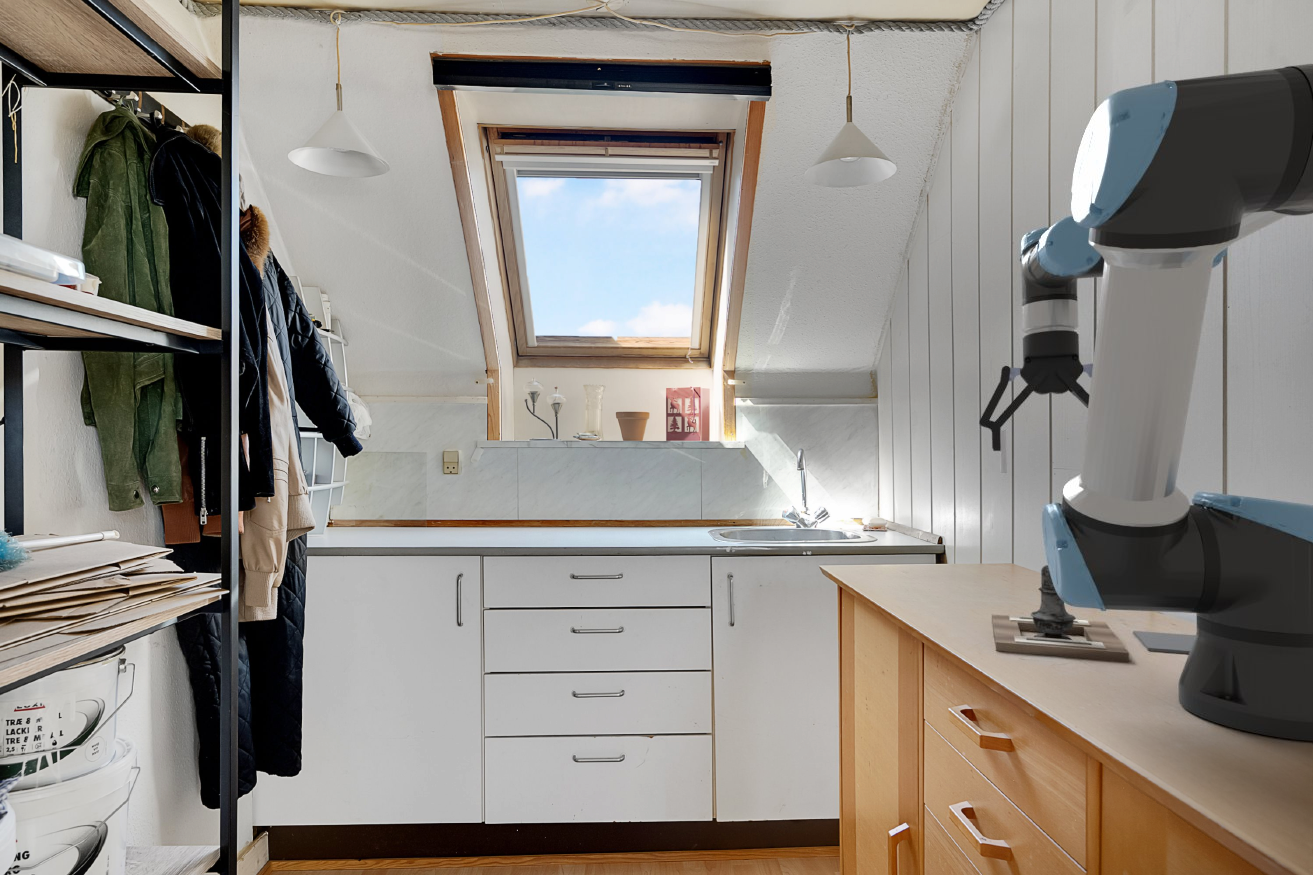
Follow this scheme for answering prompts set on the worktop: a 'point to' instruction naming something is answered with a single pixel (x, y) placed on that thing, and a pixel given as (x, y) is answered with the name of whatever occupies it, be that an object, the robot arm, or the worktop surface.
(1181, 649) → the rubber mat
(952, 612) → the worktop surface
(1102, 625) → the label board
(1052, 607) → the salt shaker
